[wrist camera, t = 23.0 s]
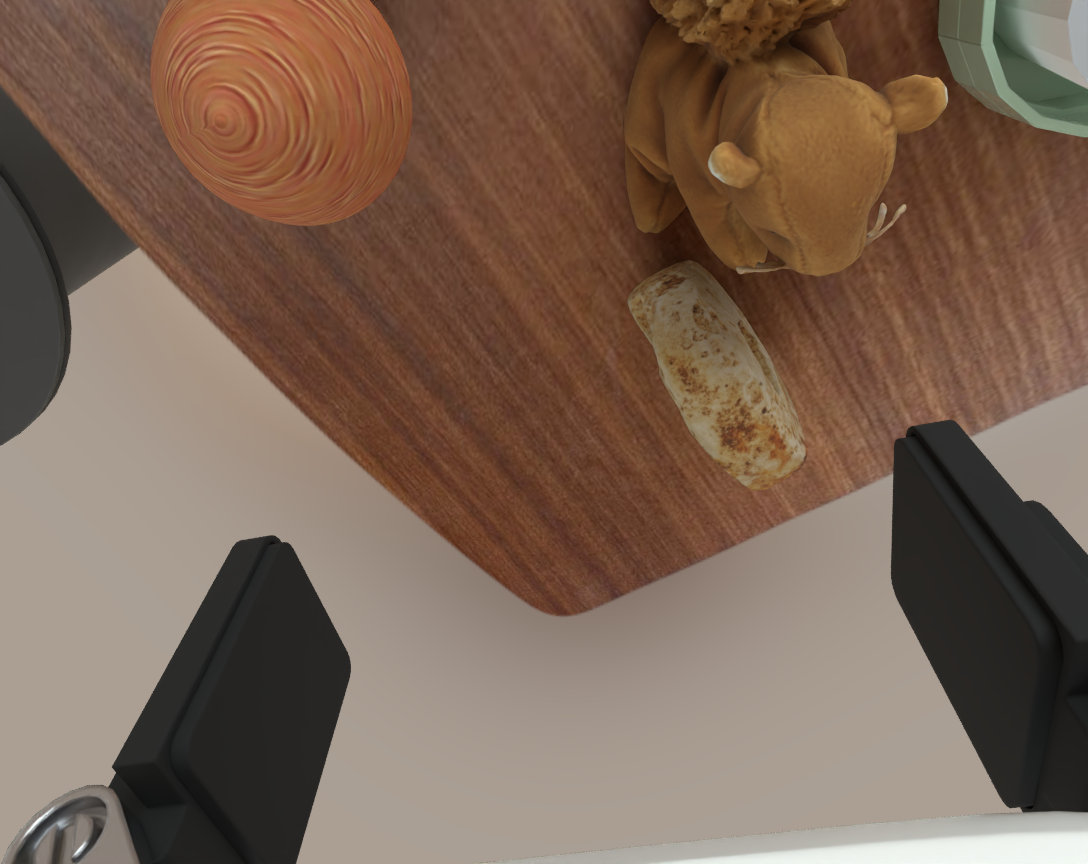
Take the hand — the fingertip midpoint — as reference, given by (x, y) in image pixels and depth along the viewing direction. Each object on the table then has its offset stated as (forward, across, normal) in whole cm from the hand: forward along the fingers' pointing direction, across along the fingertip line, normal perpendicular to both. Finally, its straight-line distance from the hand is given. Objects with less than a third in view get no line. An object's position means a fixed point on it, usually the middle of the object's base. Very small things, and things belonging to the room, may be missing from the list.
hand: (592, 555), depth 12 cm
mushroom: (+26, +8, -6) cm, 28 cm away
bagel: (+26, -5, +9) cm, 28 cm away
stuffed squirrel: (+26, -7, -3) cm, 27 cm away
